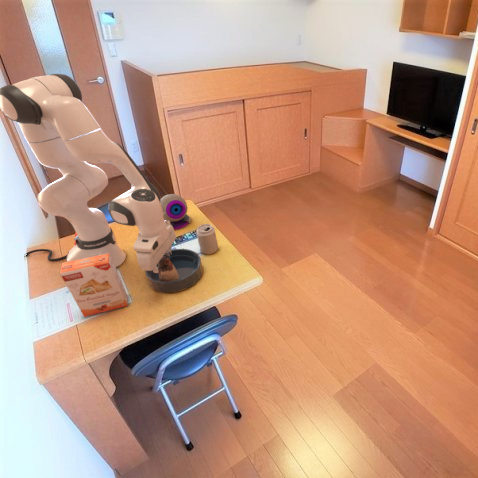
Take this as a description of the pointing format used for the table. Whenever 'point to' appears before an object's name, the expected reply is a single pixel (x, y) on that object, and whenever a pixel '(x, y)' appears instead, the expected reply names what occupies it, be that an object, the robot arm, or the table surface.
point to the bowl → (179, 271)
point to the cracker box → (94, 284)
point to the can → (207, 239)
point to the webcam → (175, 210)
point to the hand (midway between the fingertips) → (163, 263)
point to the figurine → (167, 270)
